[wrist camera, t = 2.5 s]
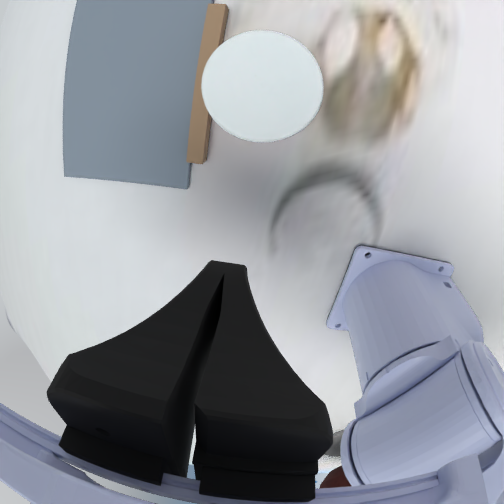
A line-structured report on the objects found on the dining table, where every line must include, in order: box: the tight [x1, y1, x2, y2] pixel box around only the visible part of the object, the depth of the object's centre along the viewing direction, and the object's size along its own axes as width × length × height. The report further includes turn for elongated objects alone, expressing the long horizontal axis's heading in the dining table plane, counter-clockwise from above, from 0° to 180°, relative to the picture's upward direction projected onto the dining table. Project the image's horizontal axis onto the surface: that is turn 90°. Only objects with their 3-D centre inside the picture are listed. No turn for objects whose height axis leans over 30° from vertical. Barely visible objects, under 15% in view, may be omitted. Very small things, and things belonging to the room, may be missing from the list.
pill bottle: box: [201, 30, 323, 142], centre depth 12 cm, size 5×5×8 cm
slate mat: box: [63, 0, 229, 189], centre depth 15 cm, size 11×14×1 cm
